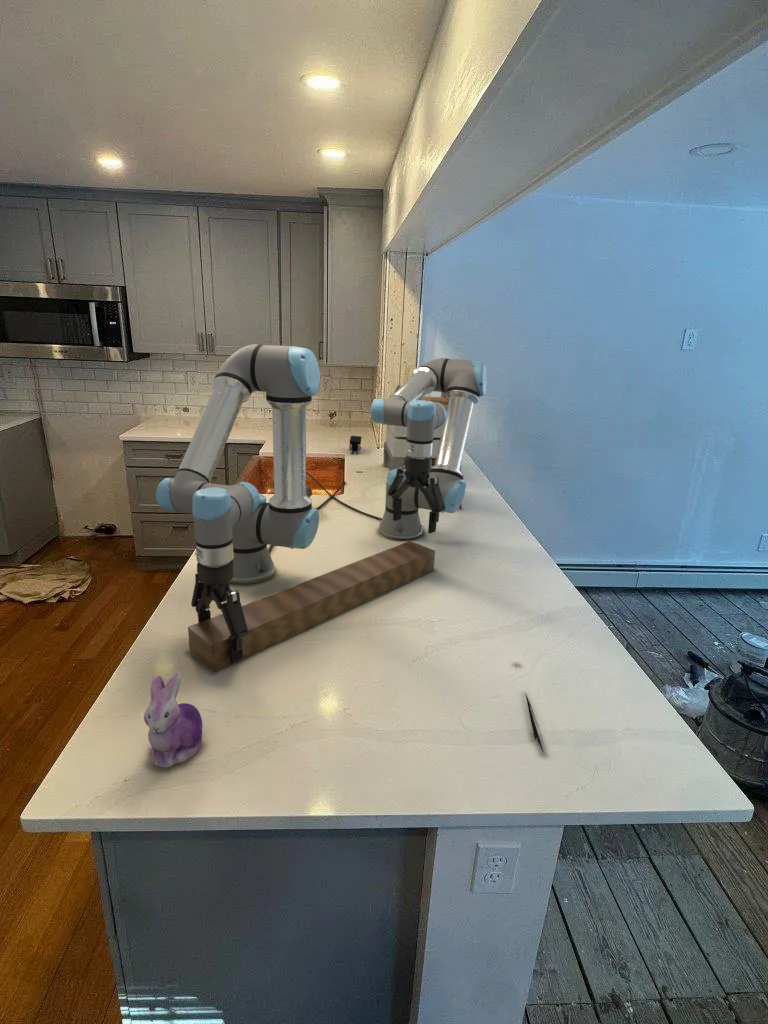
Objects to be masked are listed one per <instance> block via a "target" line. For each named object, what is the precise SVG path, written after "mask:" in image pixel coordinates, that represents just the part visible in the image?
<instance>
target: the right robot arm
mask: <svg viewBox="0 0 768 1024" xmlns="http://www.w3.org/2000/svg"><path fill="white" fill-rule="evenodd" d="M487 379H488V377H487V367H486V364H485V363H484V361H480V360H474V359H456V358H447V357H445V358H444V357H441V358H435V359H432V360H429V361H427V362H424V363H422V364H420V365H419V366H417V367H416V368H415V369H414V370H413V371H412V373H411V374H410V377H409V378H408V379H407V380H406V381H405V382H404V383H403V384H401V385H400V386H401V387H400V388H399V389H398V390H397V391H395V390H394V392H393V393H391V395H389V397H387V398H384V397H383V398H375V399H374V400H373V401H372V403H371V406H370V419H371V421H372V422H373V423H375V424H380V425H384V426H385V425H386V426H387V425H394V426H404V427H407V438H406V455H407V456H406V457H405V465H404V467H402V468H397V469H393V470H391V471H390V470H389V472H388V473H387V475H386V482H385V504H384V505H385V507H384V508H385V509H384V513H383V515H382V517H379V516H376V515H372V514H370V513H368V512H364V511H363V510H359V509H357V508H355V507H354V506H351V505H348V504H347V503H345V502H343V501H341V500H340V499H338V498H336V497H335V495H334V496H332V495H333V494H331V493H330V492H329V491H328V490H327V489H326V488H325V487H324V486H323V485H322V484H321V483H320V482H319V481H318V480H317V479H316V478H315V477H314V476H312V475H311V474H309V473H308V472H307V471H306V476H309V477H310V478H311V479H312V480H313V481H314V482H315V483H316V484H317V485H318V486H319V487H320V488H321V489H322V490H323V491H324V492H325V493H326V494H327V495H328V496H330V497H331V496H332V498H331V499H334V500H335V501H337V502H338V503H340V504H341V505H343V506H345V507H346V508H348V509H351V510H352V511H355V512H357V513H359V514H362V515H365V516H368V517H370V518H373V519H377V520H380V521H381V522H379V527H378V533H379V534H380V535H381V536H382V537H385V538H387V539H389V540H395V541H412V540H415V539H418V538H420V537H421V536H422V535H423V529H424V526H423V524H421V518H420V515H419V509H422V510H428V511H429V514H428V529H427V534H429V535H430V534H433V533H436V532H437V524H438V523H439V521H440V513H442V514H443V513H447V514H453V513H456V512H457V511H458V510H459V507H460V505H461V503H462V504H463V501H464V497H465V494H466V488H467V483H466V480H465V479H463V480H462V478H464V475H463V473H462V471H461V472H460V465H461V466H462V462H461V460H462V459H463V455H464V450H465V445H466V441H467V436H468V431H469V427H470V422H471V417H472V412H473V408H474V405H476V404H478V403H479V401H480V397H484V396H485V395H486V392H487V385H488V384H487V381H488V380H487ZM433 392H438V393H441V392H446V397H447V399H448V400H449V402H448V406H447V411H446V409H445V407H444V406H443V405H442V404H440V403H438V402H431V401H426V400H421V399H422V398H423V397H426V395H428V394H431V393H433ZM443 423H444V425H443V429H442V434H441V439H440V443H439V448H438V453H437V457H436V462H435V465H434V466H432V465H431V461H432V459H431V457H430V456H432V448H433V433H434V430H435V429H437V428H439V427H441V425H442V424H443ZM462 461H463V460H462Z"/></svg>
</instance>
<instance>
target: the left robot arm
mask: <svg viewBox="0 0 768 1024" xmlns="http://www.w3.org/2000/svg"><path fill="white" fill-rule="evenodd" d="M211 384H212V388H213V391H212V393H211V396H210V397H209V400H208V402H207V405H206V407H205V409H204V411H203V414H202V415H201V418H200V421H199V423H198V425H197V426H196V429H195V432H194V433H193V436H192V438H191V441H190V442H189V445H188V447H187V449H186V452H185V454H184V456H183V458H182V461H181V463H180V465H179V468H178V470H177V471H176V474H175V476H174V477H166V478H163V479H162V480H161V481H160V482H159V483H158V485H157V488H156V490H155V491H156V492H155V499H156V502H157V504H158V506H159V507H160V509H163V511H164V510H165V511H169V512H173V513H177V514H188V515H192V519H193V528H194V538H195V539H194V543H195V552H194V555H195V557H196V562H197V563H196V572H197V573H195V575H194V576H195V577H194V578H195V580H194V588H193V593H192V596H191V597H192V598H191V607H192V608H195V611H196V613H197V618H198V619H197V622H198V623H200V622H202V621H205V620H208V619H210V618H212V617H211V616H212V615H211V610H210V609H211V603H212V602H214V603H215V605H216V607H217V609H219V610H220V611H221V614H223V616H224V619H225V621H226V624H227V626H228V629H229V631H230V634H231V636H229V650H230V663H232V664H231V665H233V664H235V663H237V662H240V661H242V660H243V659H244V658H243V650H242V648H243V645H242V644H243V642H242V637H245V636H247V635H249V632H248V628H247V624H246V621H245V617H244V613H243V610H242V606H243V605H242V603H241V595H240V591H239V590H238V589H237V590H232V587H231V585H230V583H232V584H238V585H250V584H257V583H260V582H264V581H266V580H268V579H270V578H271V577H273V575H274V572H275V564H274V561H273V559H272V556H271V553H270V552H271V550H272V549H273V547H281V548H288V549H291V550H294V549H298V550H306V549H308V548H309V547H310V546H311V545H312V543H313V542H314V540H315V538H316V535H317V534H318V533H317V532H318V528H319V525H320V513H319V509H321V508H322V507H324V505H326V504H328V502H329V501H330V500H331V499H333V498H332V496H334V497H335V495H337V493H339V491H340V490H341V489H342V488H343V487H344V486H345V484H346V481H343V482H342V483H341V485H340V486H339V487H338V488H337V490H335V491H334V493H332V494H331V495H332V496H330V497H328V498H327V499H326V500H325V501H324V502H322V503H321V504H320V505H319V506H318V507H316V508H315V507H312V506H313V504H312V503H313V501H312V498H311V497H310V498H309V497H308V496H307V495H306V485H307V474H306V472H307V407H308V406H309V405H310V404H311V403H312V401H313V399H312V398H313V396H316V395H317V394H318V392H319V390H320V384H321V371H320V366H319V361H318V360H317V358H316V355H315V354H314V353H313V351H312V350H310V349H309V348H306V347H300V346H296V345H275V344H273V345H271V344H269V345H268V344H259V343H254V344H249V345H245V346H243V347H241V348H240V349H238V350H236V351H235V352H233V353H232V354H231V355H230V356H229V357H228V358H227V359H226V360H225V361H224V363H223V364H222V365H221V366H220V367H219V368H218V370H217V372H216V374H215V376H214V378H213V381H212V382H211ZM254 392H265V401H266V402H267V403H268V404H269V405H270V406H271V408H272V409H271V410H272V412H271V414H272V415H271V416H272V449H273V450H272V453H273V458H272V459H273V491H274V492H273V493H274V494H273V495H272V496H271V497H270V498H269V499H268V502H267V497H266V496H265V495H263V494H262V493H261V494H260V493H259V490H258V489H257V488H256V487H255V485H253V484H252V483H251V482H248V481H240V482H236V483H234V484H232V485H228V484H222V483H221V484H219V483H211V480H212V478H213V475H214V473H215V471H216V468H217V466H218V463H219V461H220V459H221V457H222V453H223V452H224V449H225V447H226V445H227V442H228V439H229V437H230V435H231V432H232V429H233V427H234V425H235V423H236V420H237V418H238V416H239V413H240V411H241V409H242V406H243V404H244V403H247V402H248V401H249V400H250V397H251V395H252V394H253V393H254ZM268 546H269V548H268Z"/></svg>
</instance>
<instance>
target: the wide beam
mask: <svg viewBox="0 0 768 1024" xmlns="http://www.w3.org/2000/svg"><path fill="white" fill-rule="evenodd" d="M435 556H436V550H435V549H432V548H429V547H427V546H424V545H422V544H419V543H417V542H414V541H412V540H407V541H406V542H404V543H401V544H398V545H396V546H393V547H390V548H388V549H386V550H383V551H380V552H378V553H375V554H372V555H370V556H367V557H364V558H362V559H359V560H357V561H354V562H351V563H350V564H346V565H344V566H342V567H339V568H337V569H333V570H331V571H329V572H326V573H324V574H323V573H322V574H321V575H319V576H316V577H313V578H310V579H308V580H306V581H303V582H300V583H298V584H296V585H292V586H290V587H287V588H285V589H283V590H279V591H277V592H275V593H273V594H269V595H267V596H264V597H262V598H259V599H257V600H254V601H252V602H249V603H247V604H243V605H241V606H242V610H243V613H244V617H245V621H246V624H247V628H248V632H249V635H247V636H245V637H242V642H243V644H242V645H243V648H242V650H243V659H245V658H247V657H249V656H251V655H254V654H256V653H258V652H261V651H263V650H265V649H267V648H269V647H271V646H273V645H276V644H278V643H280V642H282V641H285V640H287V639H288V638H291V637H293V636H295V635H297V634H300V633H301V632H304V631H306V630H307V629H310V628H312V627H314V626H317V625H318V624H321V623H323V622H325V621H327V620H330V619H332V618H333V617H336V616H338V615H340V614H342V613H344V612H347V611H349V610H351V609H353V608H356V607H358V606H359V605H362V604H364V603H366V602H368V601H370V600H372V599H375V598H377V597H380V596H381V595H383V594H386V593H387V592H388V593H389V592H390V591H392V590H394V589H396V588H398V587H401V586H403V585H405V584H407V583H409V582H411V581H413V580H416V579H418V578H420V577H422V576H425V575H426V574H428V573H431V572H433V571H434V568H435V558H436V557H435ZM187 635H188V636H187V637H188V645H189V646H188V648H189V653H190V654H191V655H192V656H193V657H194V658H196V659H197V660H198V661H200V662H201V663H202V664H203V665H204V666H205V667H207V668H208V669H209V670H210V671H211V672H213V673H215V672H218V671H219V670H221V669H224V668H226V667H229V666H230V665H233V664H232V663H230V650H229V636H231V634H230V631H229V629H228V626H227V624H226V621H225V619H224V616H223V614H222V613H220V614H218V615H215V616H213V617H211V618H210V619H208V620H205V621H202V622H200V623H195V624H192V625H190V626H187Z"/></svg>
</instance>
